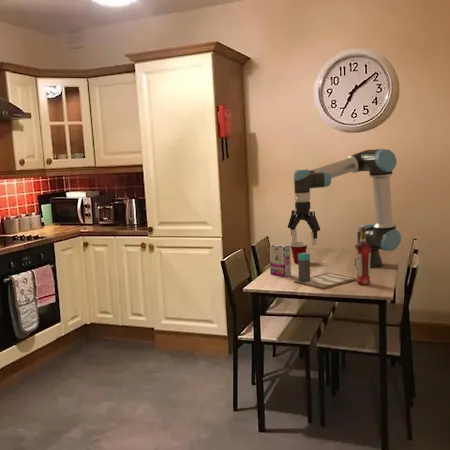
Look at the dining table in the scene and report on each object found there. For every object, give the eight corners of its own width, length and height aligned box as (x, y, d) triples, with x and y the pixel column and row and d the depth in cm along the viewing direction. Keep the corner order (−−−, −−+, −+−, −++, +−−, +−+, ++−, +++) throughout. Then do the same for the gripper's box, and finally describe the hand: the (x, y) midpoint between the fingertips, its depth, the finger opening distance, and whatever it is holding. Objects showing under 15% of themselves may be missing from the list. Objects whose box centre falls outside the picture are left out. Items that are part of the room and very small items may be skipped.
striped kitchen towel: (328, 273, 274) (328, 272, 274) (358, 279, 258) (358, 278, 258) (293, 282, 259) (293, 281, 259) (323, 289, 243) (323, 288, 243)
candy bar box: (291, 275, 274) (290, 245, 272) (285, 277, 271) (284, 246, 269) (276, 272, 282) (275, 243, 280) (270, 274, 279) (268, 244, 277)
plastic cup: (288, 265, 301) (288, 244, 299) (291, 261, 311) (290, 241, 309) (307, 265, 298) (306, 244, 296) (309, 261, 308) (309, 241, 306)
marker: (304, 279, 261) (303, 252, 259) (310, 280, 258) (309, 253, 256) (298, 281, 258) (297, 253, 257) (304, 282, 255) (303, 254, 253)
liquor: (353, 282, 253) (352, 226, 249) (368, 281, 253) (367, 225, 250) (358, 286, 246) (357, 228, 242) (373, 285, 246) (372, 227, 242)
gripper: (279, 201, 260) (281, 242, 263) (316, 203, 241) (317, 247, 243) (290, 199, 265) (292, 240, 268) (326, 201, 245) (328, 245, 248)
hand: (304, 243), depth 256 cm, fingers open, 13 cm apart
